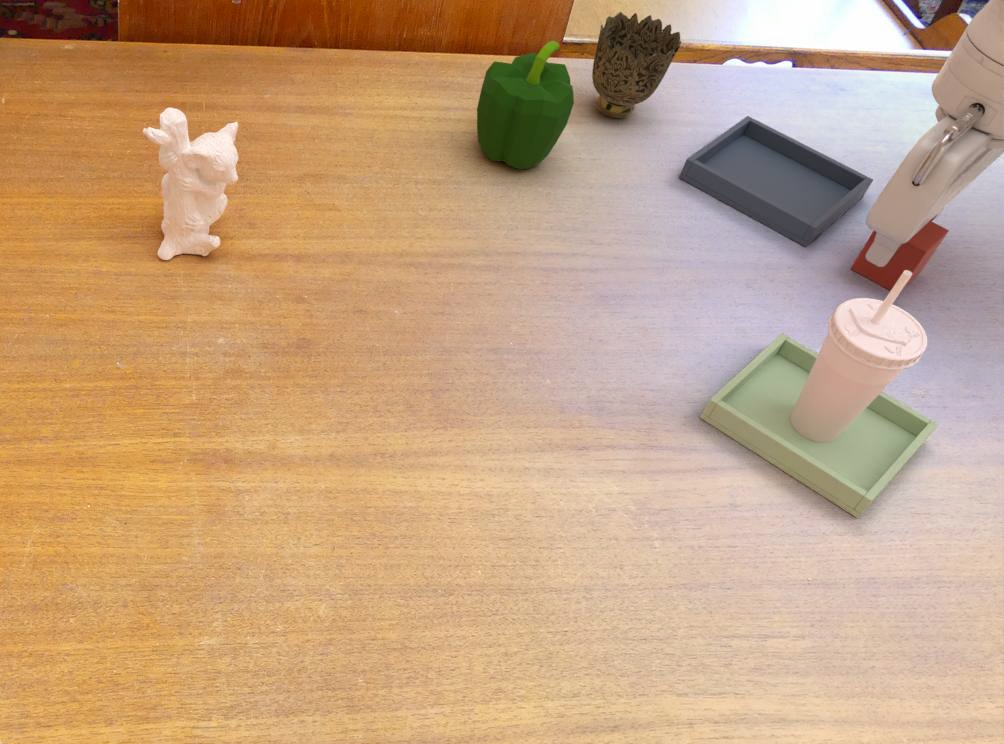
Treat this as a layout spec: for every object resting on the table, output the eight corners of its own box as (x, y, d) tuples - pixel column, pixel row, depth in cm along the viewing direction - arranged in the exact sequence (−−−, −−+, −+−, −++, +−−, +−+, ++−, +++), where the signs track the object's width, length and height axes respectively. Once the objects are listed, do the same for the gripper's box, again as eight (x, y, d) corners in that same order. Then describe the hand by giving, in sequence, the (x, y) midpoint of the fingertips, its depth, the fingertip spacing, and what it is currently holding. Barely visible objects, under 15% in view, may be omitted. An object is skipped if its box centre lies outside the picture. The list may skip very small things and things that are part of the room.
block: (920, 272, 97) (949, 230, 94) (897, 294, 95) (926, 252, 92) (872, 247, 99) (900, 204, 95) (849, 268, 97) (876, 225, 93)
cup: (595, 81, 112) (622, 2, 106) (662, 109, 110) (694, 30, 104) (563, 112, 109) (588, 32, 102) (632, 141, 106) (662, 62, 100)
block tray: (862, 198, 103) (873, 179, 102) (805, 247, 98) (816, 228, 97) (739, 134, 108) (747, 115, 107) (678, 177, 103) (686, 158, 102)
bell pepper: (503, 189, 100) (534, 86, 92) (450, 141, 104) (475, 37, 96) (574, 167, 103) (610, 64, 95) (520, 120, 107) (549, 18, 99)
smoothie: (798, 382, 87) (893, 233, 76) (872, 427, 84) (982, 281, 73) (756, 421, 84) (848, 272, 73) (832, 469, 81) (940, 323, 70)
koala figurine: (159, 278, 90) (159, 145, 80) (125, 230, 93) (121, 96, 83) (251, 252, 92) (263, 121, 83) (215, 206, 96) (222, 75, 86)
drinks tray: (924, 442, 85) (939, 424, 83) (857, 518, 79) (872, 500, 78) (771, 351, 90) (782, 332, 88) (699, 417, 84) (709, 399, 83)
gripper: (988, 154, 77) (881, 309, 88) (1091, 60, 87) (983, 210, 98) (904, 113, 79) (810, 268, 91) (1014, 26, 89) (916, 176, 100)
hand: (901, 237), depth 94 cm, fingers open, 8 cm apart
